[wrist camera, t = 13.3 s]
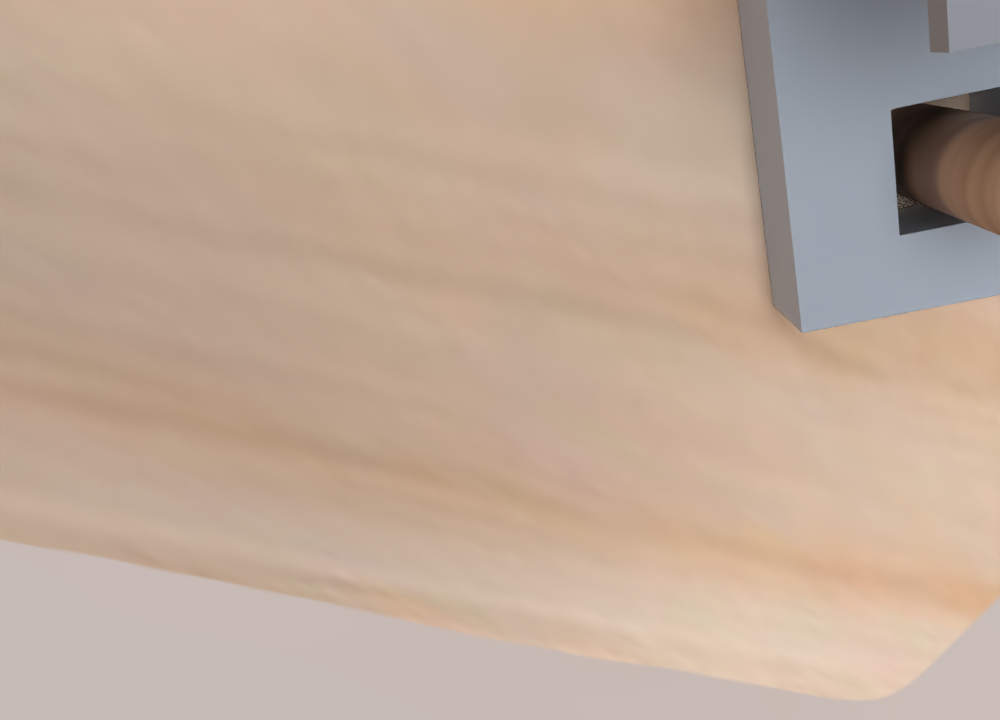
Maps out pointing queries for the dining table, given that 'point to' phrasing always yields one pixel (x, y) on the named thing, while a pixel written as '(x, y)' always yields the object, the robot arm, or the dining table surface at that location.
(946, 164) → the peg
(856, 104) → the socket station
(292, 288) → the dining table surface
